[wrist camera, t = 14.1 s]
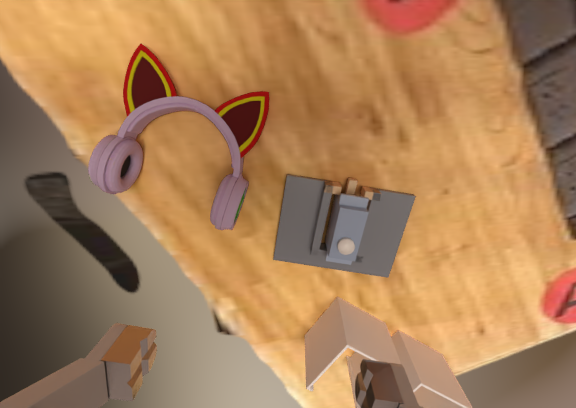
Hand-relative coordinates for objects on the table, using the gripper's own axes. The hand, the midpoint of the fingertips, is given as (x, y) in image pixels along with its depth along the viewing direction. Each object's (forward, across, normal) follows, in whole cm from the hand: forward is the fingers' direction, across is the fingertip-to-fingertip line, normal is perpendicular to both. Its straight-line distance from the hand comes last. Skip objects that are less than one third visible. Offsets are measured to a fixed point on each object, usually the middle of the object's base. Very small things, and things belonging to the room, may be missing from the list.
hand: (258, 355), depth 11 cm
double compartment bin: (+35, -22, +33) cm, 53 cm away
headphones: (+35, +15, -1) cm, 38 cm away
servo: (+35, -10, +8) cm, 37 cm away
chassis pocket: (+34, -10, +9) cm, 37 cm away
